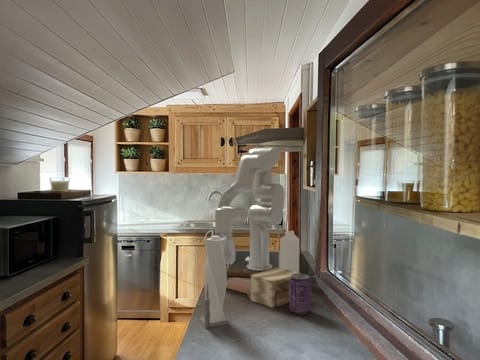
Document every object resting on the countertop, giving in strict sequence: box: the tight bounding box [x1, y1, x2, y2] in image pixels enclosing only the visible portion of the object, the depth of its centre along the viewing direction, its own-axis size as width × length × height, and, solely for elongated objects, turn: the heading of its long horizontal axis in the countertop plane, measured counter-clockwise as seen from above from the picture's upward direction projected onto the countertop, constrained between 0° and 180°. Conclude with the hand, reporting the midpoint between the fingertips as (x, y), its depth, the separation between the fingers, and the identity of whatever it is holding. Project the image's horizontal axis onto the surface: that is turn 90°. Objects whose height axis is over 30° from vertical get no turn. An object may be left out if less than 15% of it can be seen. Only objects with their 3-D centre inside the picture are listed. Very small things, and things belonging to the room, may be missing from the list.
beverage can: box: [288, 273, 312, 316], centre depth 114 cm, size 7×7×12 cm
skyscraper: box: [198, 229, 228, 329], centre depth 107 cm, size 8×8×28 cm
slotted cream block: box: [247, 267, 301, 308], centre depth 128 cm, size 14×16×9 cm
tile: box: [226, 277, 251, 295], centre depth 137 cm, size 16×7×3 cm, turn 51°
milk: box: [279, 230, 300, 273], centre depth 147 cm, size 6×6×22 cm
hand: (223, 279), depth 146 cm, fingers closed
